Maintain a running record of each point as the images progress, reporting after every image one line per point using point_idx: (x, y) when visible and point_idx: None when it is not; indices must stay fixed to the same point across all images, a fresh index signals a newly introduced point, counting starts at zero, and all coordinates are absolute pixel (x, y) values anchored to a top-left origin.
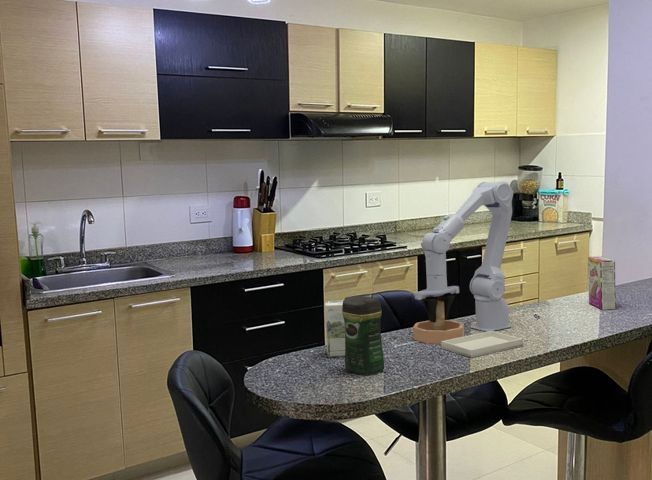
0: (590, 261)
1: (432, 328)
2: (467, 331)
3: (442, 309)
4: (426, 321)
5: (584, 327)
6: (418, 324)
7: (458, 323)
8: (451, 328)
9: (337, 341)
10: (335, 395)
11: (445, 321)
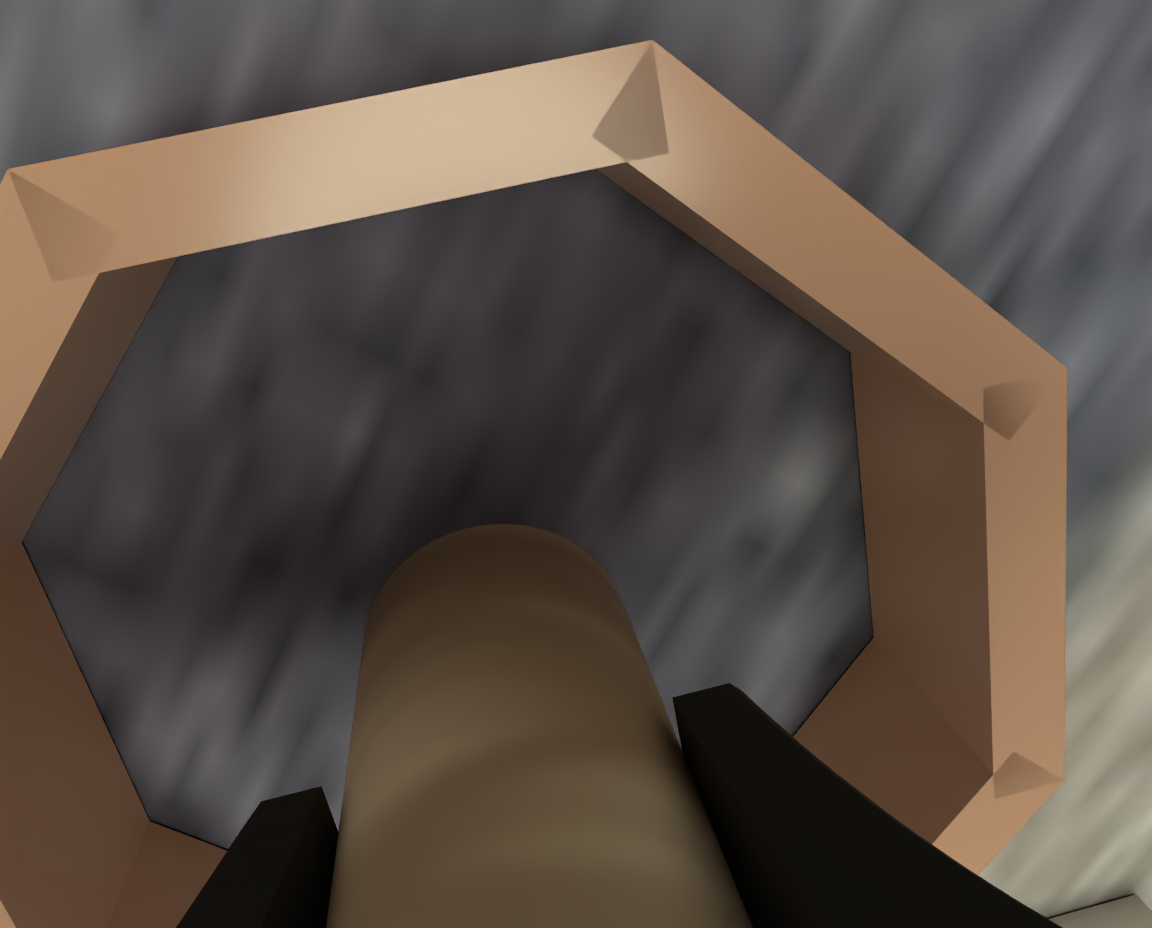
0: None
1: (365, 655)
2: (1142, 428)
3: None
4: (414, 159)
5: None
6: (40, 387)
7: (990, 719)
8: (896, 438)
9: None
10: None
11: (904, 362)
